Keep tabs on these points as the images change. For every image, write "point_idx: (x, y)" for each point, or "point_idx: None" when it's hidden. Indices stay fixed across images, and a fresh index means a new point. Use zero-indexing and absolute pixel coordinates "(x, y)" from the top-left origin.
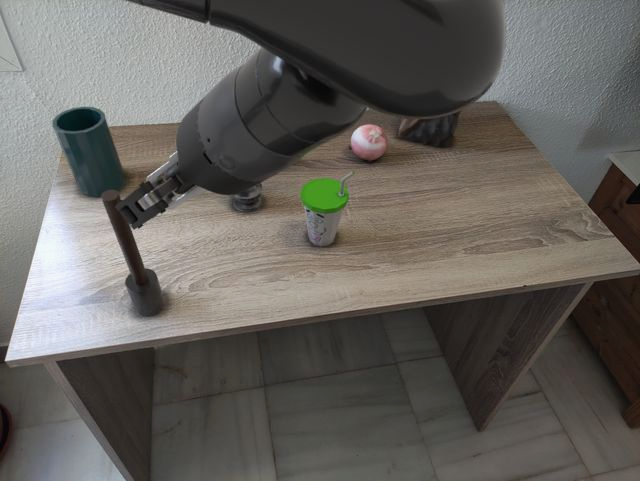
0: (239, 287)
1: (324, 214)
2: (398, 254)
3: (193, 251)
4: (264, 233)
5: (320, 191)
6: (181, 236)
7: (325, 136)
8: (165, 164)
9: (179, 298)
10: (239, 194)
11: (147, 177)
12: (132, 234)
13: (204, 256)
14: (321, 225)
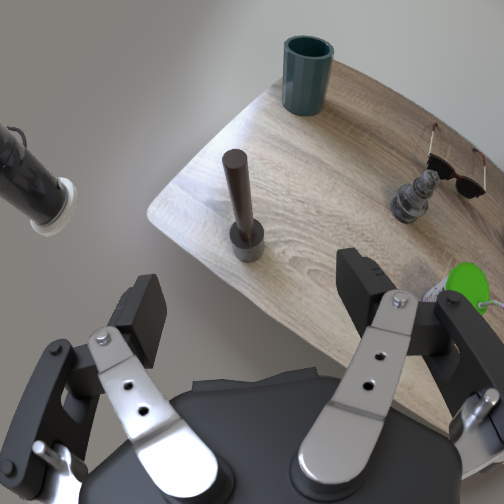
0: (329, 296)
1: None
2: None
3: (323, 222)
4: (394, 256)
5: (469, 284)
6: (325, 197)
7: None
8: (126, 430)
9: (274, 262)
10: (402, 202)
11: (99, 375)
12: (248, 204)
13: (328, 236)
14: None
